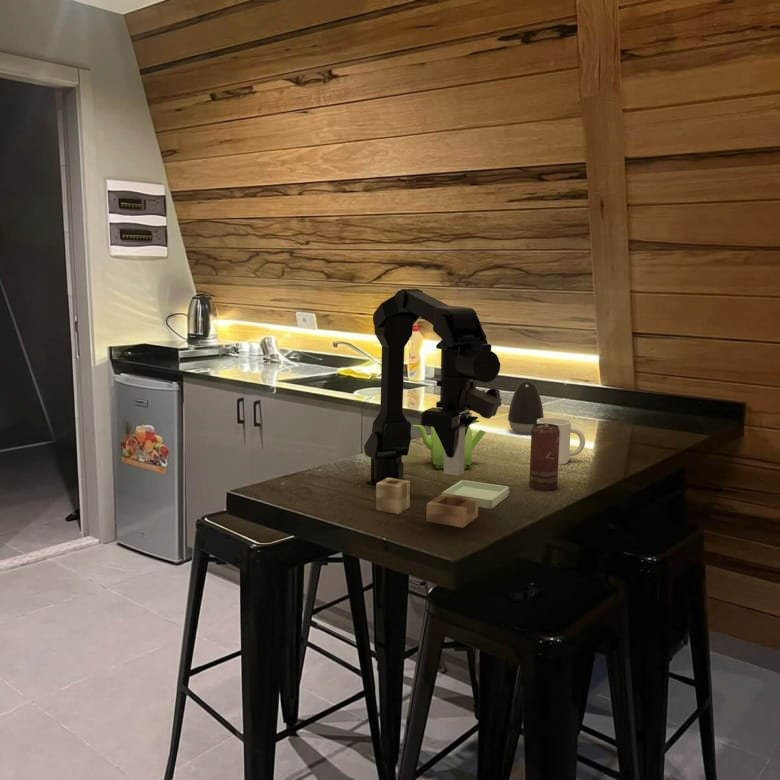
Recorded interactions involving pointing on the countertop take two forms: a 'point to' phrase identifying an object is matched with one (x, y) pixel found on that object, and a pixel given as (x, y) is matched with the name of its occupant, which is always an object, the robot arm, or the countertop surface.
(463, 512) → the oak block
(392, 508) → the beech block
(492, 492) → the tray
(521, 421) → the dark tapered diffuser
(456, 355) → the robot arm
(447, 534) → the countertop surface
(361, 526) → the countertop surface
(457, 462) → the grey wood bar
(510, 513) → the countertop surface
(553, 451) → the can
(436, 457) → the kettle
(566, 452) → the mug
